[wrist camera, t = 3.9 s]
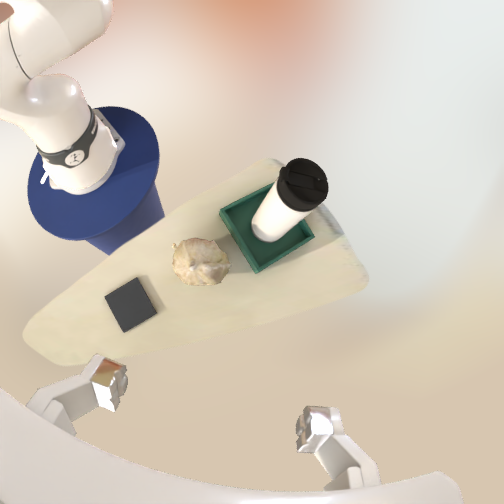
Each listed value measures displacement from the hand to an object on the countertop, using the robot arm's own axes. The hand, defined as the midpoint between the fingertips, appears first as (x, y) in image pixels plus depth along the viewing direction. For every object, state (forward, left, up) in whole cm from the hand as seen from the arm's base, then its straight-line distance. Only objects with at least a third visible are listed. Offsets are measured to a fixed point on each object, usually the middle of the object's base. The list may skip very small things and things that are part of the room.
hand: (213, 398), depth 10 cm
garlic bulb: (-10, +5, -35) cm, 37 cm away
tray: (-10, +19, -35) cm, 41 cm away
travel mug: (-10, +19, -35) cm, 41 cm away
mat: (-10, -9, -35) cm, 38 cm away
